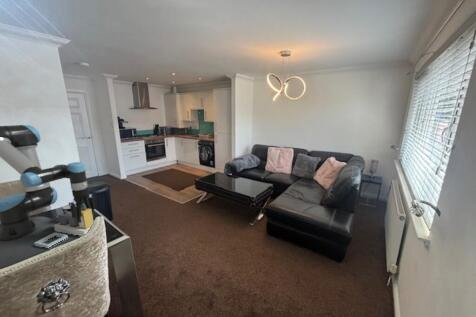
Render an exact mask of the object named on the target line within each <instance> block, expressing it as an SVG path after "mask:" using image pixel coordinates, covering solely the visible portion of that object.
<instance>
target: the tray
mask: <svg viewBox="0 0 476 317" xmlns="http://www.w3.org/2000/svg"><path fill="white" fill-rule="evenodd" d="M54 236H56V238H57V239H55V240H54V241H52V242H50V243H46V242H47V241H49V240H51V239H53V238H55V237H54ZM52 237H53V238H52ZM60 237H61V238H60ZM50 238H51V239H50ZM66 238H67V239H68V238H69V234H66V233H61V232H57V231H55V232H53V233H51V234H49V235H47V236H45V237H43V238H40V239H39V240H37V241H35V242H34V246H35V247H38V246H39V247H38V248H42V247H45V248H44V249H46V248H49V247H51V246H52V245H54V244H56V243H58V242H60V241H62V240H63V241H65V240H67V239H66ZM48 239H49V240H48ZM64 239H65V240H64ZM63 241H62V242H63ZM60 243H61V242H60ZM58 244H59V243H58ZM56 245H57V244H56ZM54 246H55V245H54ZM51 248H52V247H51ZM49 249H50V248H49Z"/></svg>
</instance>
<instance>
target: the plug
mask: <svg viewBox="0 0 476 317" xmlns="http://www.w3.org/2000/svg"><path fill="white" fill-rule="evenodd" d="M81 217H83V223H84V227H80V229H85V230H86V229H88V228H89V227H91V226H92V224H93V222H95V221H94V214H93V215H92V210H91V209H89V208H86V206H84V207H82V209H81Z"/></svg>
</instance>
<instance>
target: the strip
mask: <svg viewBox="0 0 476 317" xmlns="http://www.w3.org/2000/svg"><path fill="white" fill-rule="evenodd" d="M63 212H64V213H63ZM58 221H59V222H58V223H56V224H54V225H53V228H54V231H55V232H56V233H61V232H62V233H61V234H66V233H67V234H66V235H71V234H73V235H72V236H76V235H79V236H78V237H81V236H83V235H84V234H86V233H87V232H88V230H89V229H90V227H89V228H88V229H86V230H85V229H80V226H79V223H78V222H77V218H72V213H71V212H69V211H67V210H64V211H63V210H62V213H59V214H58Z"/></svg>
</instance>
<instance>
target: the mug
mask: <svg viewBox="0 0 476 317" xmlns="http://www.w3.org/2000/svg"><path fill="white" fill-rule="evenodd" d="M75 206H76V202H75ZM76 207H77V206H76ZM82 207H85V205H82ZM61 210H62V213H64V212H63V211H64V210H67V211H69V212H71V208H70V205H69V203H67V204H66V205H64V206H62V209H61Z"/></svg>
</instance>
